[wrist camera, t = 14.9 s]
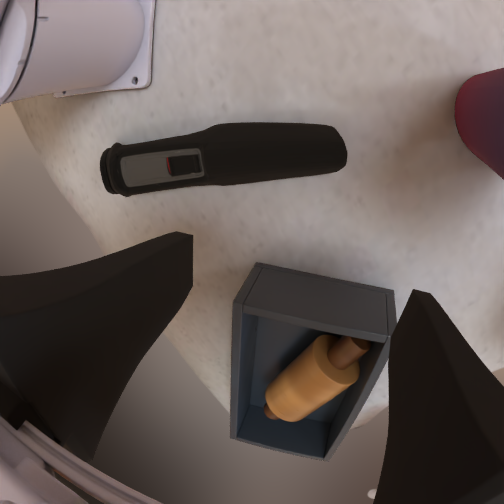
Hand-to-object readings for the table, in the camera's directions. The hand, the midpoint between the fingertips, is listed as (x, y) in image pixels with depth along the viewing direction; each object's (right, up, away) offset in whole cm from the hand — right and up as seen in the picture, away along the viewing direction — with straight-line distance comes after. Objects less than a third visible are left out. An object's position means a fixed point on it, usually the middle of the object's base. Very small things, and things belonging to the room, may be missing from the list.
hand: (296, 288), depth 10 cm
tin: (+3, -7, +14) cm, 16 cm away
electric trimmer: (-4, +7, +9) cm, 12 cm away
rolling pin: (+3, -7, +13) cm, 15 cm away
